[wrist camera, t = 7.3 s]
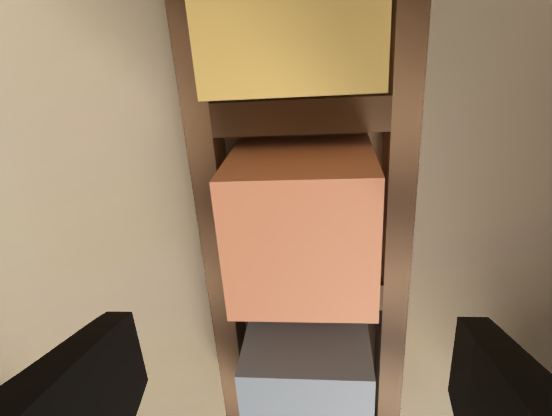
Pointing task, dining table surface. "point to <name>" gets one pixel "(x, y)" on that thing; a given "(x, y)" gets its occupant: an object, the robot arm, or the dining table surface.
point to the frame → (316, 122)
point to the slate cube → (306, 370)
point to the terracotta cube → (300, 229)
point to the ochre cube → (289, 47)
